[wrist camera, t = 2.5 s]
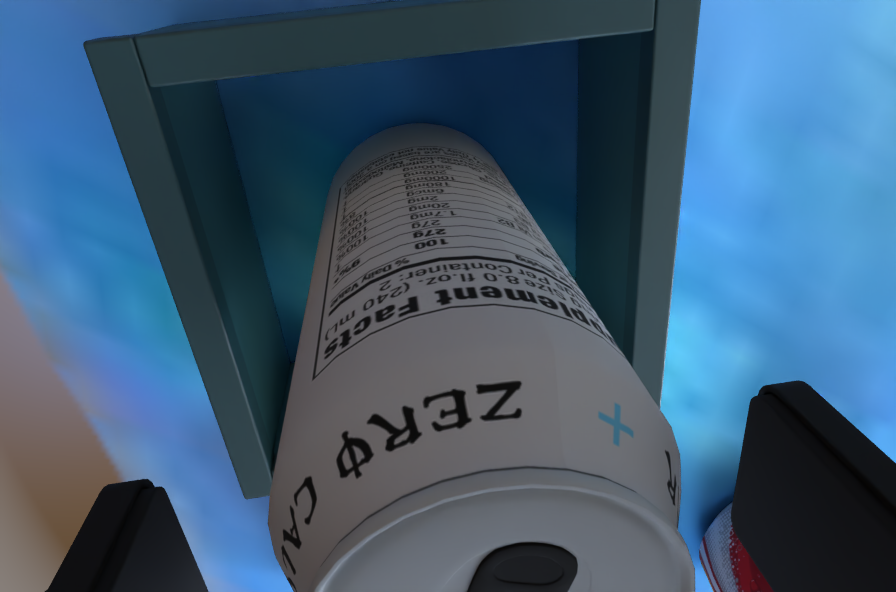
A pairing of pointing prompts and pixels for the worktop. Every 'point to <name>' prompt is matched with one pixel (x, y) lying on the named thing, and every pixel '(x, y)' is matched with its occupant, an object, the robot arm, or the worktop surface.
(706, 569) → the soda can
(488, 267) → the energy drink can
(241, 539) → the worktop surface
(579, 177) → the basket
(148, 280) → the worktop surface
